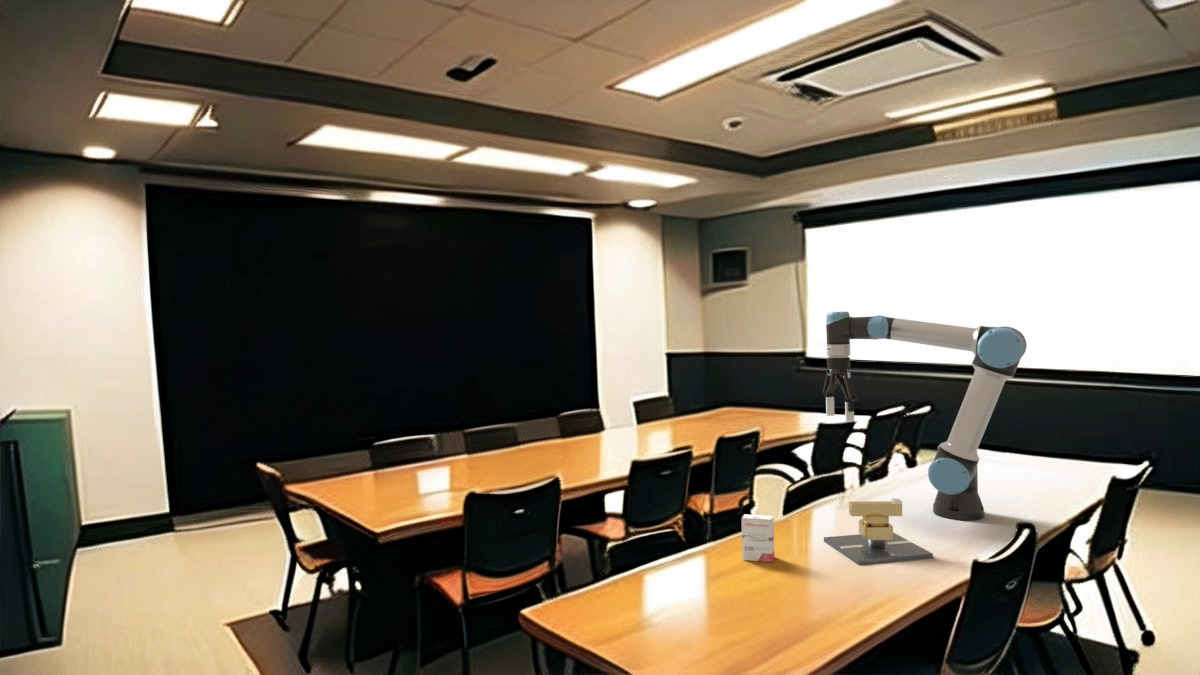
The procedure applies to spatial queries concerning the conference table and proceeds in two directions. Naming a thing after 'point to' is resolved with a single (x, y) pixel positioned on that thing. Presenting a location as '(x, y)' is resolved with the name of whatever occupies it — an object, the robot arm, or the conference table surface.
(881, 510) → the collar
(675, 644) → the conference table surface
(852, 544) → the plate
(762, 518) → the ink box
